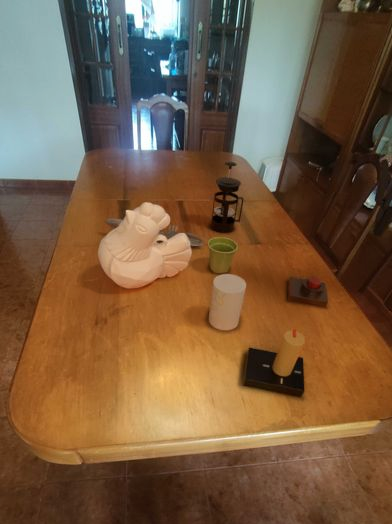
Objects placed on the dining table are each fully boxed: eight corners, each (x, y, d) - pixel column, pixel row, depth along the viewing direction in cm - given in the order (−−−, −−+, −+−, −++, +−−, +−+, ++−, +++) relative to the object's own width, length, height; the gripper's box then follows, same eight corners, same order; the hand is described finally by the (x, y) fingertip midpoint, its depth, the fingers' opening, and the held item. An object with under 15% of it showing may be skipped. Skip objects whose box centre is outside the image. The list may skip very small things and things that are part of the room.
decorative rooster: (84, 275, 85) (135, 212, 69) (94, 237, 93) (141, 173, 78) (160, 314, 99) (216, 269, 83) (162, 277, 107) (213, 231, 92)
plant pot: (237, 266, 106) (242, 242, 100) (227, 280, 100) (231, 255, 93) (211, 258, 108) (214, 234, 102) (200, 271, 102) (202, 246, 96)
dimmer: (300, 364, 77) (303, 357, 75) (301, 397, 70) (304, 390, 68) (247, 354, 78) (249, 346, 76) (242, 385, 71) (245, 378, 69)
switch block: (322, 288, 100) (327, 277, 97) (325, 307, 93) (330, 296, 90) (288, 282, 101) (291, 271, 98) (288, 301, 94) (291, 290, 91)
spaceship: (109, 208, 112) (102, 208, 104) (206, 230, 113) (205, 231, 106) (107, 231, 115) (100, 233, 108) (201, 253, 116) (200, 255, 109)
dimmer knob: (291, 378, 70) (306, 346, 63) (271, 374, 71) (284, 341, 63) (291, 363, 73) (305, 331, 66) (272, 360, 74) (284, 327, 66)
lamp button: (318, 283, 96) (320, 278, 94) (319, 289, 93) (321, 284, 92) (306, 281, 96) (308, 276, 95) (307, 287, 93) (309, 282, 92)
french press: (209, 232, 121) (215, 165, 105) (208, 221, 128) (214, 157, 111) (239, 234, 122) (251, 168, 105) (237, 223, 128) (247, 159, 112)
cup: (207, 310, 89) (211, 273, 80) (235, 310, 90) (243, 274, 81) (210, 330, 83) (215, 293, 74) (240, 330, 84) (249, 293, 75)
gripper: (456, 122, 66) (399, 231, 83) (392, 116, 68) (348, 224, 84) (471, 130, 61) (407, 244, 78) (401, 123, 62) (352, 237, 79)
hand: (376, 233), depth 81 cm, fingers closed
